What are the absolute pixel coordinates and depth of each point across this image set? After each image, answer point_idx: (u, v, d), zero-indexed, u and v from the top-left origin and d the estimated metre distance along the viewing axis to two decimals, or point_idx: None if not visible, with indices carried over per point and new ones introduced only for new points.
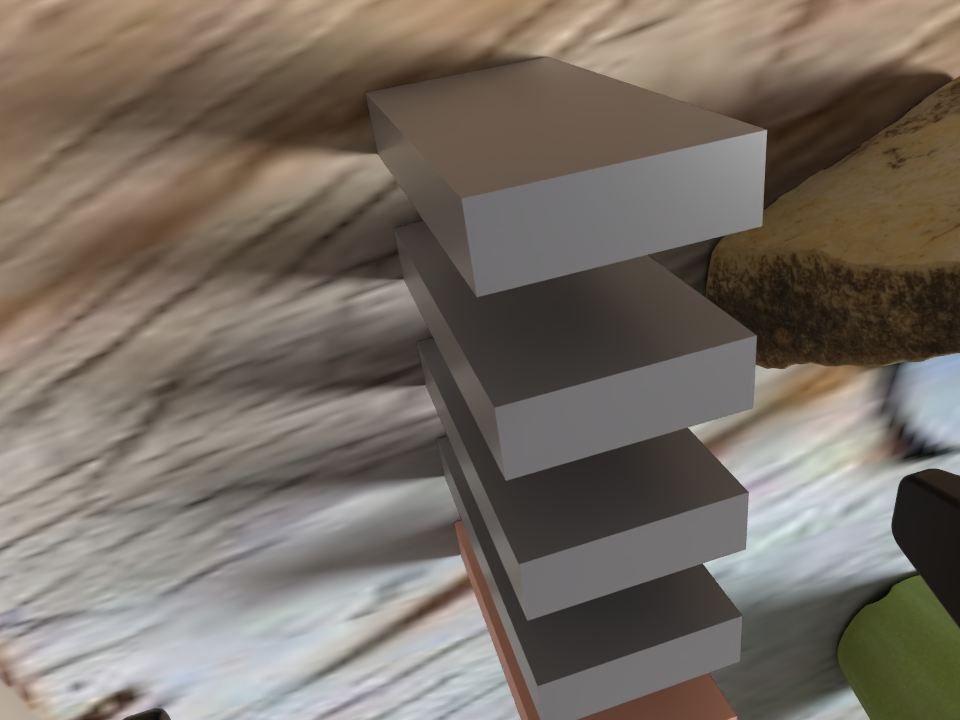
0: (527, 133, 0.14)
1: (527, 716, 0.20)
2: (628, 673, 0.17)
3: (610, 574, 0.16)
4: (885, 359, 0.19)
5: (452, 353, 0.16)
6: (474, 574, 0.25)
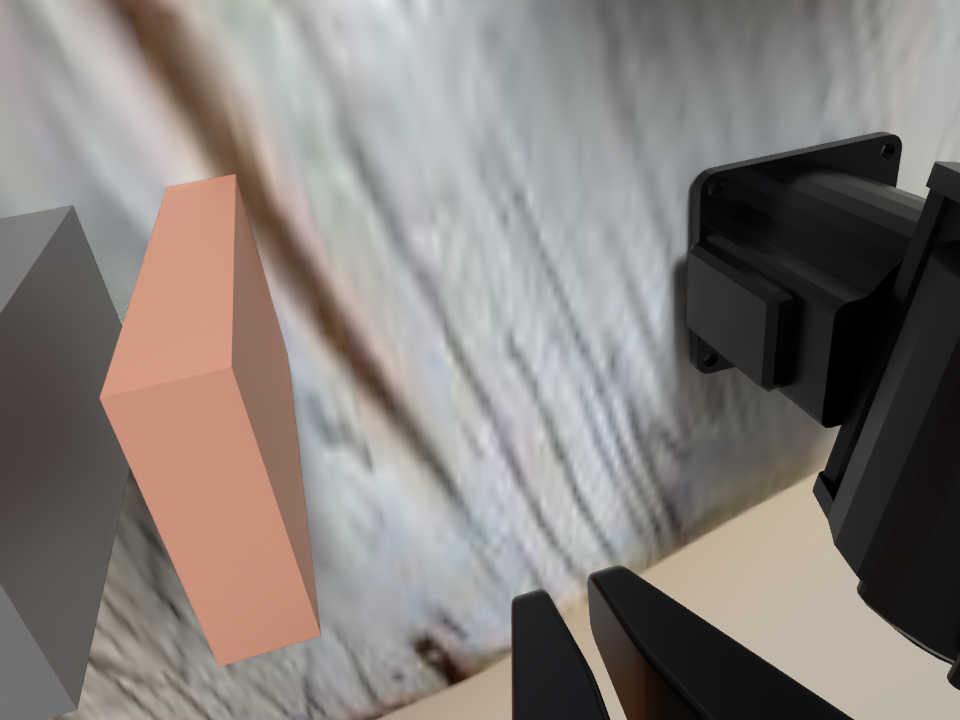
0: None
1: None
2: None
3: None
4: None
5: None
6: None
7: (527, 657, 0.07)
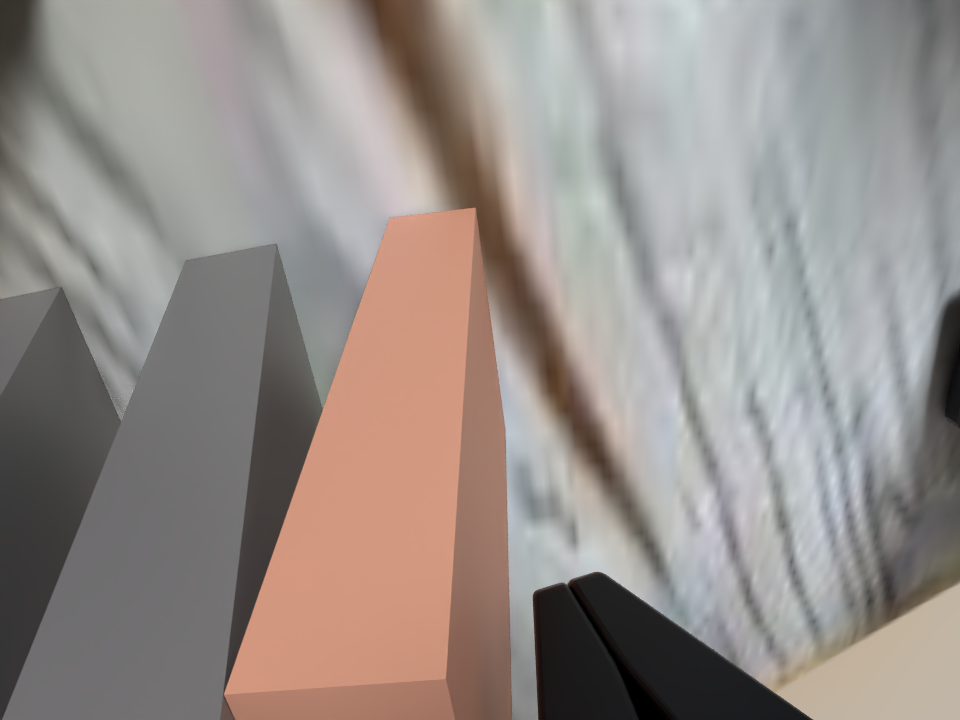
0: None
1: None
2: None
3: None
4: None
5: None
6: None
7: (551, 649, 0.07)
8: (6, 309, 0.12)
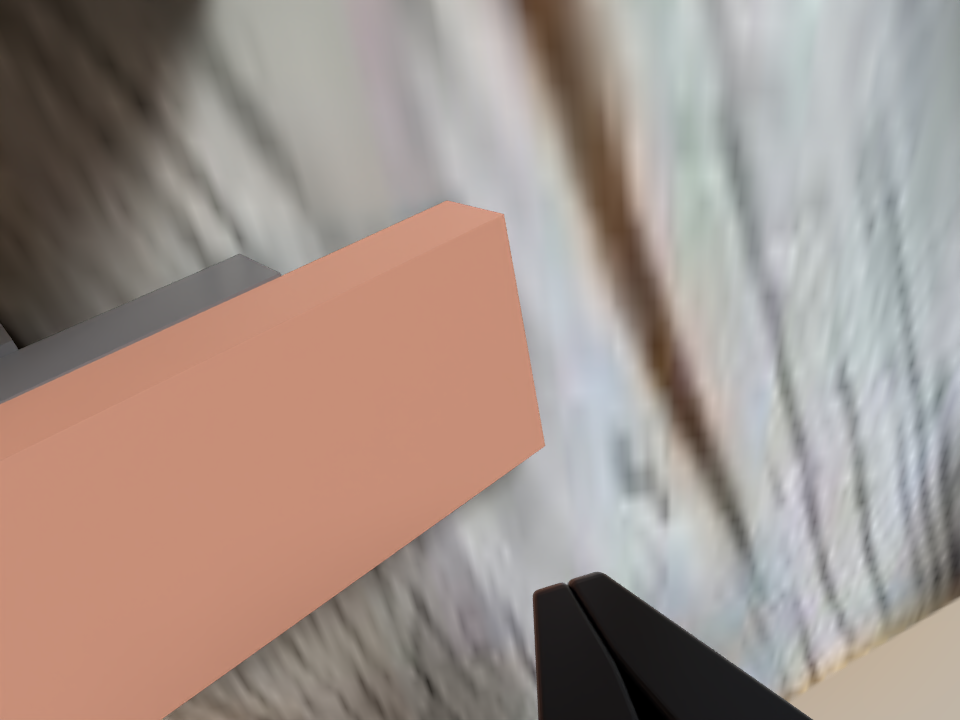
0: None
1: None
2: None
3: None
4: None
5: None
6: None
7: (551, 649, 0.07)
8: None
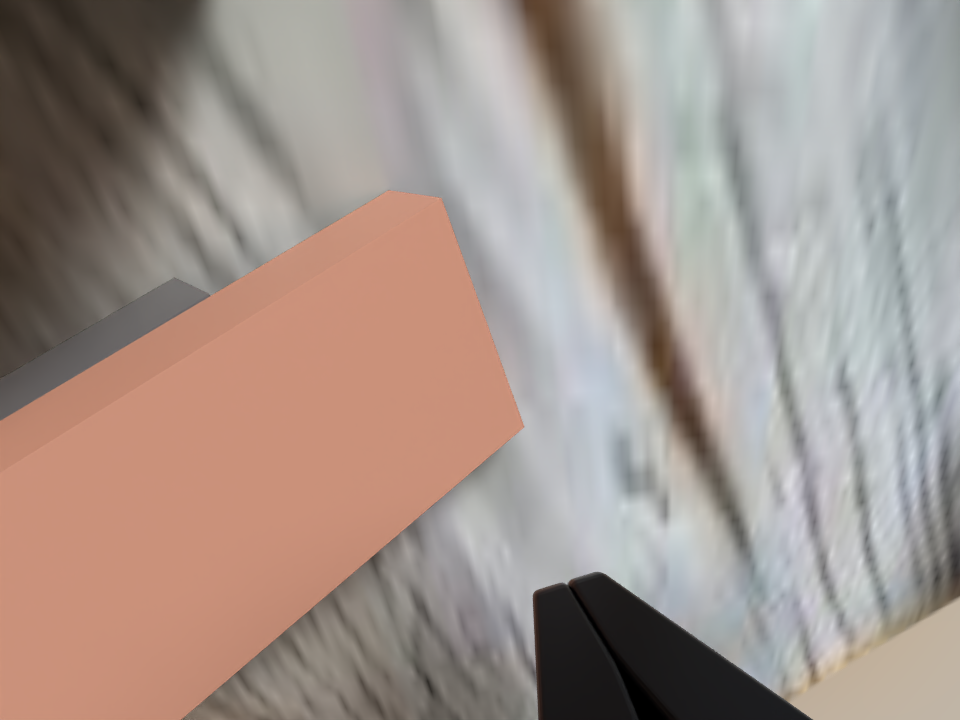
0: None
1: None
2: None
3: None
4: None
5: None
6: None
7: (551, 649, 0.07)
8: None
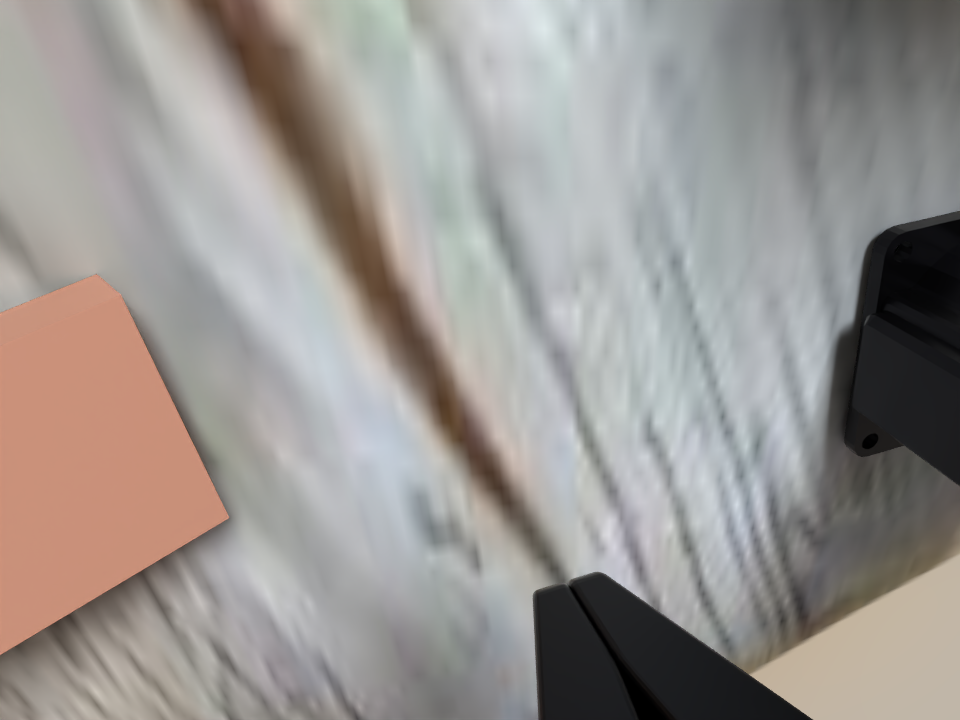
0: None
1: None
2: None
3: None
4: None
5: None
6: None
7: (551, 649, 0.07)
8: None
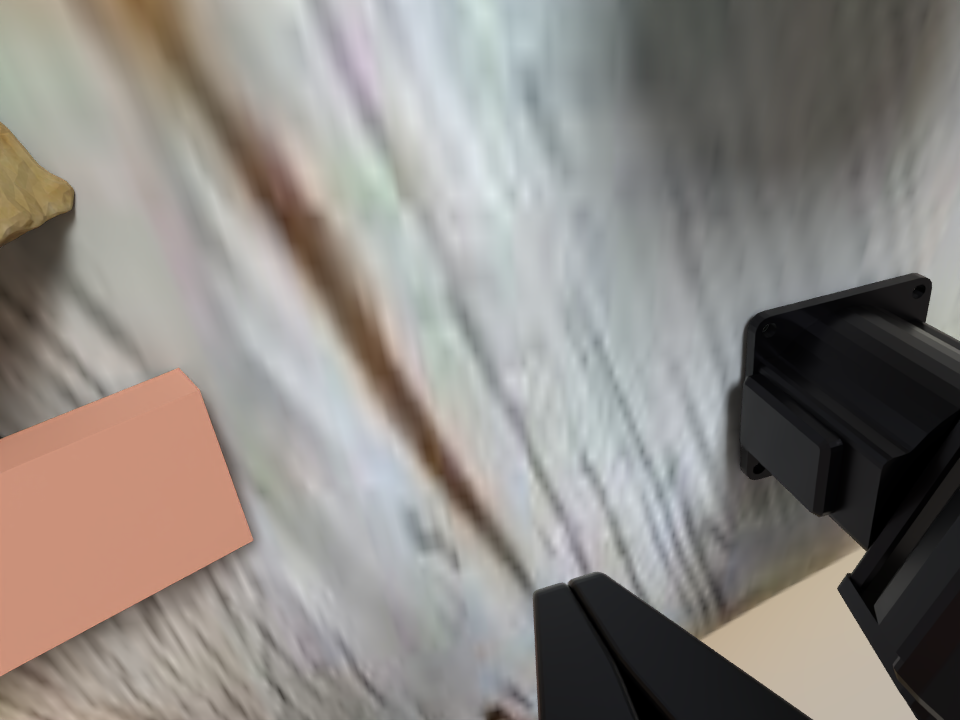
0: None
1: None
2: None
3: None
4: None
5: None
6: None
7: (551, 649, 0.07)
8: None
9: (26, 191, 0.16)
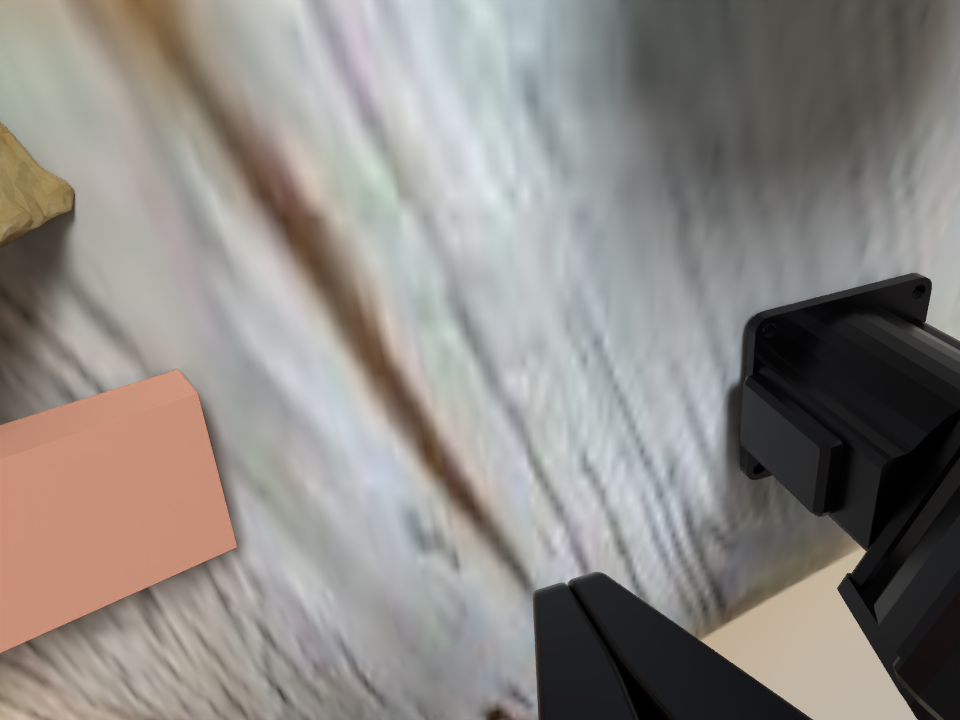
0: None
1: None
2: None
3: None
4: None
5: None
6: None
7: (551, 649, 0.07)
8: None
9: (26, 191, 0.16)
